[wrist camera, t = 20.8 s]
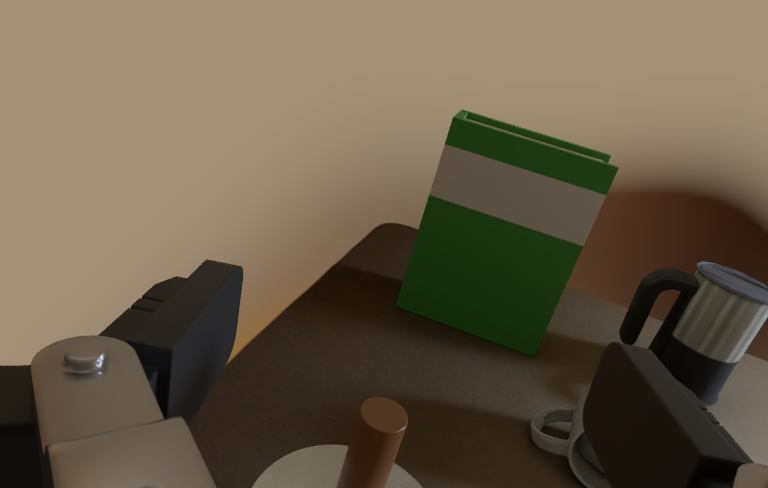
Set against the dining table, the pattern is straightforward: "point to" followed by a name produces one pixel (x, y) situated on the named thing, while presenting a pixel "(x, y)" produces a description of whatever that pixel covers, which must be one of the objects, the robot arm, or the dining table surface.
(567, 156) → the hardback book
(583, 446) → the ceramic mug
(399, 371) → the dining table surface
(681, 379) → the milk frother
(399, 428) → the bowl lid
